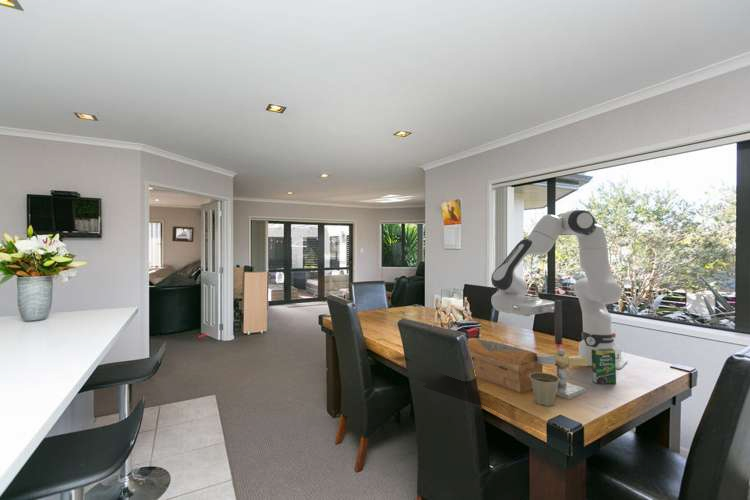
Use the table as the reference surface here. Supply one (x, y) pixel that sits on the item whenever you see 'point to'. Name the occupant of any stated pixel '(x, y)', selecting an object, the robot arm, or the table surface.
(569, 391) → the standpipe valve
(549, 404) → the flower pot
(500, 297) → the robot arm
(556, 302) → the valve lever
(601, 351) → the coffee box
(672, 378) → the table surface
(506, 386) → the wooden box
